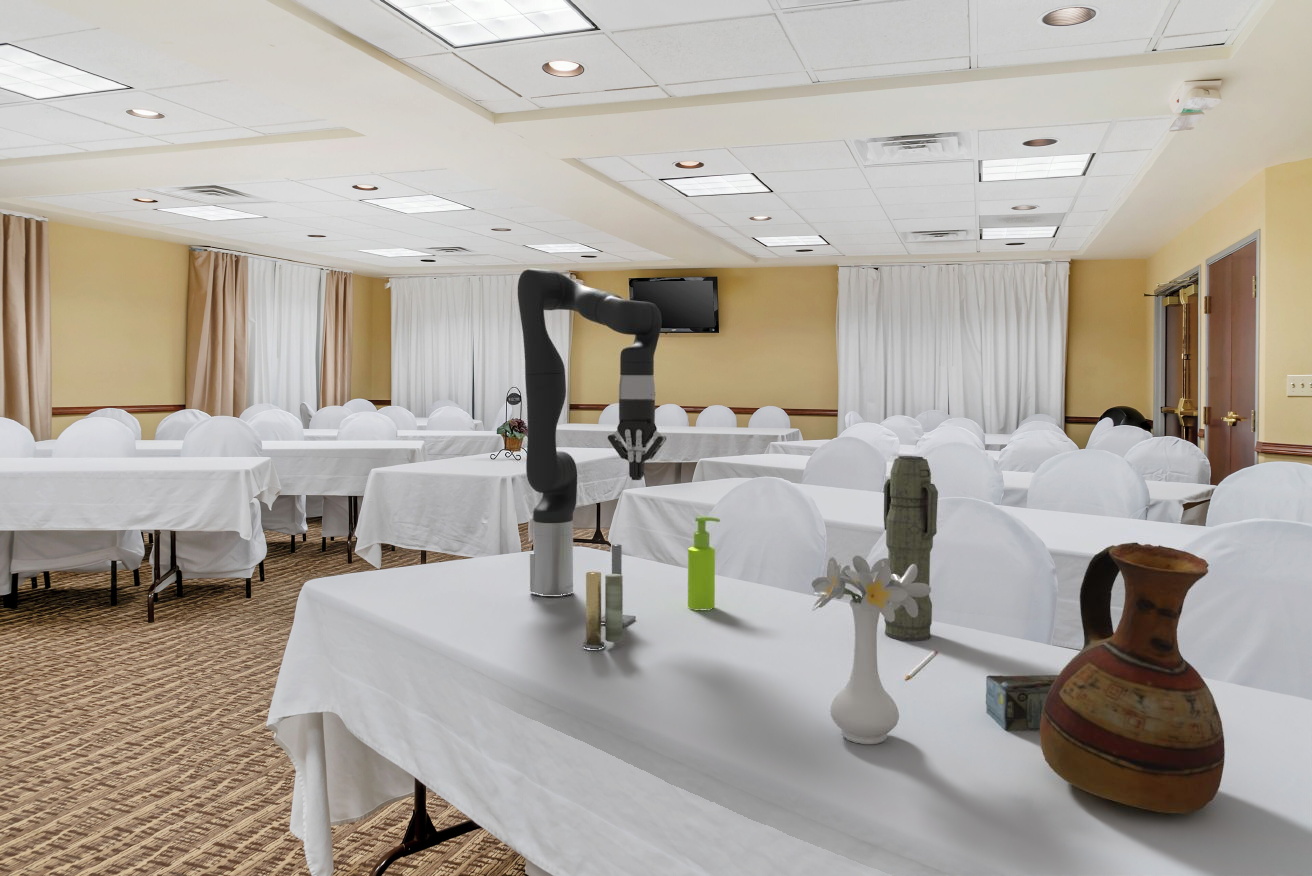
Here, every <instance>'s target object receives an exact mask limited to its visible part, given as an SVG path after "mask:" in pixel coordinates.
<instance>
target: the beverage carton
mask: <svg viewBox="0 0 1312 876" xmlns="http://www.w3.org/2000/svg"><path fill="white" fill-rule="evenodd" d="M1058 676H1059V674H1049V675H1046V674H1045V675H1043V674H1042V675H1032V674H1031V675H1030V674H1029V675H987V676H985V677H986V678H985V679H986V680H985V681H986V682H985V687H986V688H985V705H986V712H985V713H986V715H987V714H988V716H989V717H990V718H992V719H993V720H994V721H995V723H997V724H998V725H999V726H1000V727H1001V728H1002V729H1003V730H1004V731H1029V732H1030V731H1033V732H1034V731H1035V732H1036V731H1038V732H1040V722H1041V714H1042V709H1043V706H1044V702H1045V700H1046V697H1047V695H1048V693H1049V691H1050V689H1051V687H1052V685H1053V683H1054V681H1055V680H1056V678H1057V677H1058Z"/></svg>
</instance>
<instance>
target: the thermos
mask: <svg viewBox="0 0 1312 876" xmlns="http://www.w3.org/2000/svg"><path fill="white" fill-rule="evenodd" d="M889 475H890V478H889V479H887V480H886V482H885V484H883V485H884V486H883V487H884V488H883V492H884V493H883V525H884V530H885V531H886V532H885V533H886V534H885V536H886V537H885V545H886V548H887V551H888V552H887V553H888V557H887V558H888V559H889V560H890V565H889V567H890V570H891V575H892V574H896V575H898V576H900V578H902V577H903V576H904V574H905V572H906V571H907V569H908V568H909V567H910V566H911V565H912V564H915V565H916V566H917V576H916V578H915V580H914V581H913V582H911V583H924V584H927V585H929V586H930V579H931V578H930V577H931V576H930V575H931V573H930V572H931V552H932V549H933V547H934V546H933V545H934V537H935V536H936V535H937V533H938V530H937V527H938V526H937V523H938V521H937V520H938V519H937V518H938V502H939V501H938V500H939V499H938V498H939V491H938V489H937V486H936V485H935V484H934V483H932V472H931V468H930V466H929V462H928V459H926V458H924V457H923V456H915V455H901V456H898V458H894V461H893V463H892V465H891V469H890V474H889ZM911 597H912V596H911ZM912 598H913V599H914V600H915V601H916V604H917V607H918V615H917V617H915V618H914V617H911V616H910V615H909V614H908V612H907V611H906V609H905V607H904V606H903V605H900V606H899V607H898V608H897V609H895V610H894V613H895V620H894V621H893V622H889V621H888V620H886V619H885V618H884V617H883V620H884V623H885V629H884V635H885V636H887V637H888V638H890V639H893V640H899V641H907V642H922V641H927V640H929V639H931V635H932V634H931V626H932V623H933V622H932V619H933V604H932V603H933V602H932V601H931V597H930V593H929V594H928V595H927V596H924V597H912ZM888 603H890V602H888Z"/></svg>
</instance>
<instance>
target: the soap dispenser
mask: <svg viewBox="0 0 1312 876" xmlns="http://www.w3.org/2000/svg"><path fill="white" fill-rule="evenodd" d="M694 519H695V522H697V530H696V531H695V532H694V533H693V546H691V547H690V546H689V547H688V548H687V608H688V607H689V608H692V609H699V610H700V609H711V608H714V607H715V604H716V603H715V601H716V600H715V597H716V596H715V594H716V589H715V588H716V584H715V583H716V581H715V580H716V577H715V575H716V572H715V571H716V548H715V547H712V546H710V532H709V531H708V530H706V522H716V523H719V522H720V521H721V520H720V518H718V517H714V516H713V517H712V516H698V517H695V518H694ZM689 608H688V609H689ZM714 609H715V608H714Z"/></svg>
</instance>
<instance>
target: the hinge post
mask: <svg viewBox="0 0 1312 876" xmlns="http://www.w3.org/2000/svg"><path fill="white" fill-rule="evenodd" d="M622 556H623V555H622V544H620V543H619V544H618V543H617V544H616V543H615V544H612V545H611V574H620V575H622V573H623V572H622ZM636 617H637V616H636V615H631V614H629V615H628V614H623V626H625V625H627V624H628V625H630V624H631V623H630V622H632V621H633V620H635V619H636ZM636 620H637V619H636ZM636 620H635V621H636ZM633 622H634V621H633ZM633 622H632V623H633ZM601 623H605V615H604V616H601ZM629 623H630V624H629ZM628 625H627V626H628ZM625 627H626V626H625Z"/></svg>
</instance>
